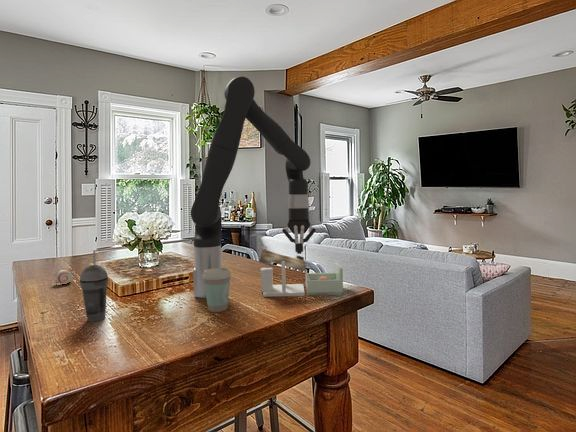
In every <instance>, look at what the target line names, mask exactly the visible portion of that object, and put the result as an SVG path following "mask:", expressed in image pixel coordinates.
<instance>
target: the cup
mask: <svg viewBox="0 0 576 432" xmlns="http://www.w3.org/2000/svg"><path fill="white" fill-rule="evenodd" d="M334 271H335V272H310V273H309V272H306V273H305V289H306V295H307V296H309V297H310V296H343V295H344V274H343V273H344V272H343V271H344V269H343V267H342V266H341V264H340V262H338V261H335V262H334ZM322 276H324V277H326V278H328V280H318V279H319V278H320V277H322Z"/></svg>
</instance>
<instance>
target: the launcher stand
mask: <svg viewBox="0 0 576 432" xmlns="http://www.w3.org/2000/svg"><path fill="white" fill-rule="evenodd" d="M280 267H281V284H274V281H273V279H274V278H273V277H274V276H273V271H274V270H273V267H261V268H260V271H259V272H260V291H262V292H263V294H262V297H264V298H265V297H266V298H267V297H268V298H269V297H302V296H303V297H304V296H306V295H305V287H304V284H303V283H293V284H291V283H290V284H289V283H286V281H287V279H286V266H285V261H281V266H280Z"/></svg>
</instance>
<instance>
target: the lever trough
mask: <svg viewBox="0 0 576 432" xmlns="http://www.w3.org/2000/svg"><path fill="white" fill-rule="evenodd" d="M267 248H268V247H267V246H265V245H264V246H263V247H262V251H261V255H260V256H259V257H260V258H259V263H261V264H265V265H269V266H271V263H275V264H277V265H281V261H285V267H288V268H291V269H295V270H297V271H301V272H306V269H307V262H306V261H305V257H303V256H301V255H299V254H297V255H296V256H295V258H294V257H290V256H287V255H283V254H281V253H277V252H274V251H270V250H267Z"/></svg>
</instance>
